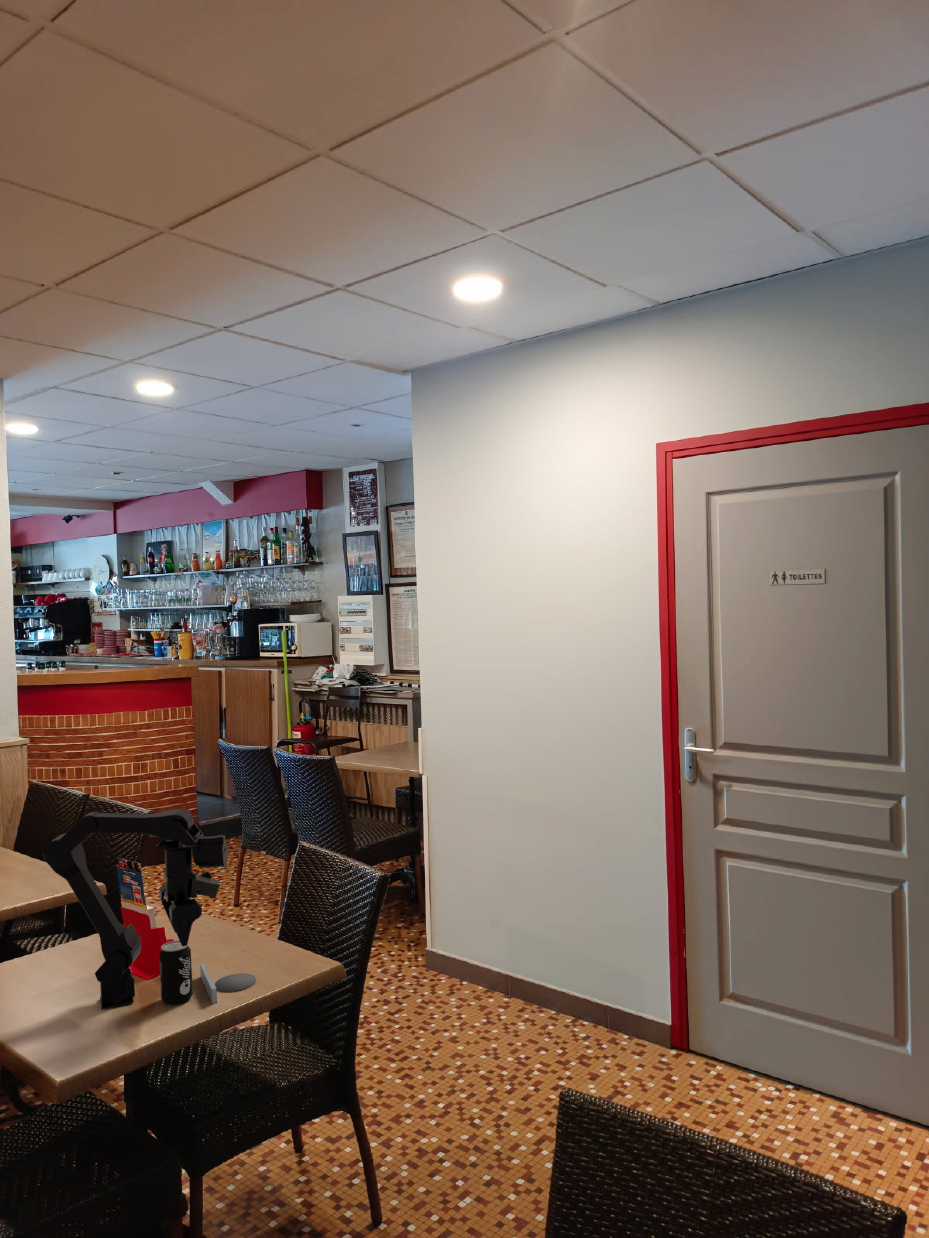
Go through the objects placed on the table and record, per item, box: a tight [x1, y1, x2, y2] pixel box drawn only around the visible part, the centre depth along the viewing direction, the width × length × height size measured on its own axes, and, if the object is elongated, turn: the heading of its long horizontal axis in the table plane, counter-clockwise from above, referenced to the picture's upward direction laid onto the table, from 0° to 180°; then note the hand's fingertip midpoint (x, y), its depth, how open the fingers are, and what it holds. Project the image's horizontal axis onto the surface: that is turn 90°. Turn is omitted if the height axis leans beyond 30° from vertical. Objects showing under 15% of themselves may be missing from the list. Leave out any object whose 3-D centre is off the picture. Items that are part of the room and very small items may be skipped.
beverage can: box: [158, 940, 194, 1006], centre depth 197 cm, size 7×7×12 cm
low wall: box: [199, 962, 218, 1004], centre depth 202 cm, size 1×16×3 cm, turn 25°
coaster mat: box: [214, 972, 257, 993], centre depth 204 cm, size 9×9×1 cm
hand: (180, 938), depth 198 cm, fingers open, 9 cm apart
